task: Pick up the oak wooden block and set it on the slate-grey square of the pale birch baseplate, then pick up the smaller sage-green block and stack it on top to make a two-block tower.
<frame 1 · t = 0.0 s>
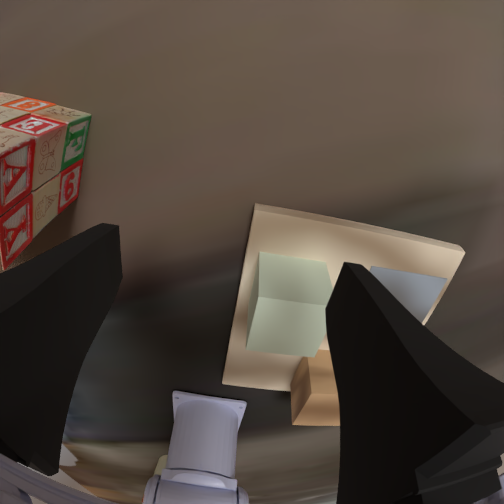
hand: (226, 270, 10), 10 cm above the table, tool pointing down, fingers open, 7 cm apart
sage block: (285, 283, 21), point 1 cm above the table, touching baseplate
oak block: (326, 369, 27), point 1 cm above the table, touching baseplate
baseplate: (333, 322, 25), on the table
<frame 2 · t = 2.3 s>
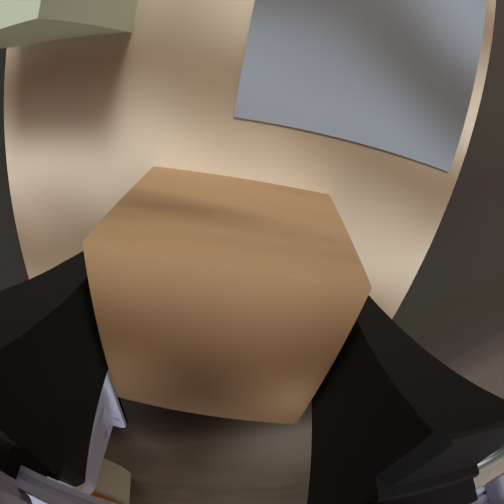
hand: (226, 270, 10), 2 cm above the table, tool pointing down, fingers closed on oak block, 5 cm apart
oak block: (229, 254, 11), point 1 cm above the table, touching baseplate, gripper
reusable coffee cup: (98, 462, 29), on the table
baseplate: (223, 94, 9), on the table
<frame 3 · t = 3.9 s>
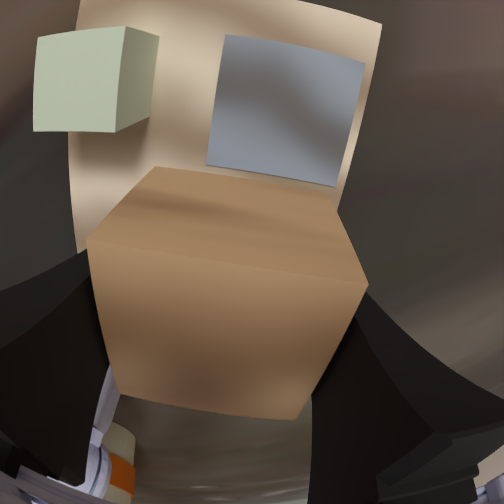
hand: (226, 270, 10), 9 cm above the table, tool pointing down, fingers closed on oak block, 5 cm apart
sage block: (115, 75, 13), point 1 cm above the table, touching baseplate
oak block: (229, 253, 11), point 8 cm above the table, touching gripper
reusable coffee cup: (107, 429, 37), on the table
baseplate: (201, 149, 17), on the table
when the fingers open (3 cm above the table, at t = 5.7 s): oak block drops 1 cm, resting on baseplate.
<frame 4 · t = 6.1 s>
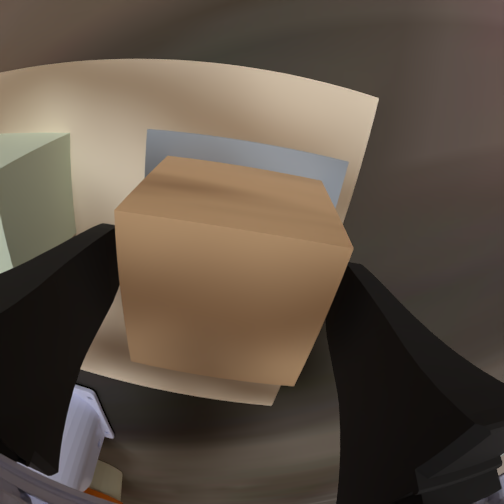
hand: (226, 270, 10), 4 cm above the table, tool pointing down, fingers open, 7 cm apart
sage block: (32, 181, 11), point 1 cm above the table, touching baseplate
oak block: (233, 234, 12), point 1 cm above the table, touching baseplate
reusable coffee cup: (95, 463, 35), on the table
baseplate: (142, 264, 14), on the table
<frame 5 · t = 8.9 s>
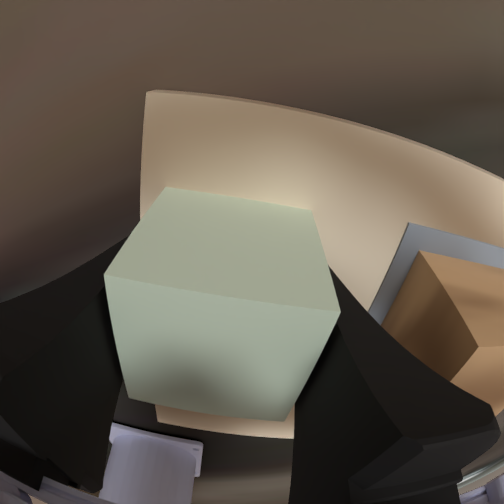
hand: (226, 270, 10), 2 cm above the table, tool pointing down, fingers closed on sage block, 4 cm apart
sage block: (228, 259, 10), point 1 cm above the table, touching baseplate, gripper
oak block: (440, 314, 11), point 1 cm above the table, touching baseplate
baseplate: (330, 337, 14), on the table
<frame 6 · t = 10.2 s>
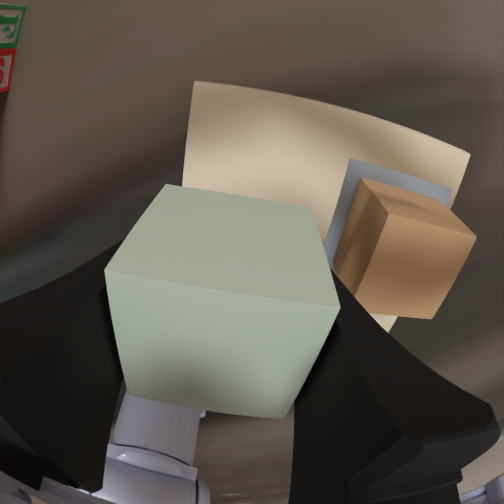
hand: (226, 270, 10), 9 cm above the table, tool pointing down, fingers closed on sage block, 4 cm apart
sage block: (228, 256, 10), point 8 cm above the table, touching gripper
oak block: (387, 229, 18), point 1 cm above the table, touching baseplate
baseplate: (309, 250, 20), on the table
when the fingers open (7 cm above the table, at t = 11.8 s): sage block stays where it is, resting on oak block.
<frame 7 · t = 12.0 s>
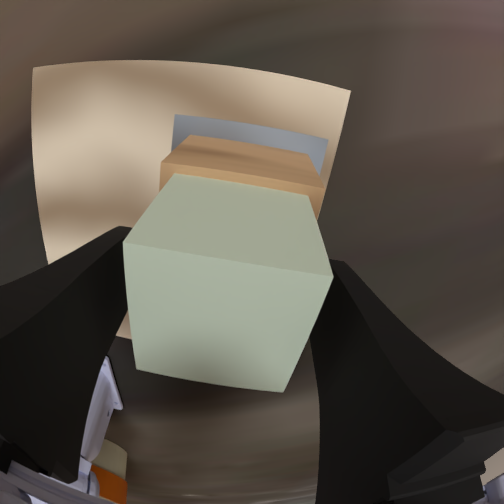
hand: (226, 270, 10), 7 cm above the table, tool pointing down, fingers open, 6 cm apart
sage block: (231, 241, 11), point 6 cm above the table, touching oak block
oak block: (239, 197, 15), point 1 cm above the table, touching baseplate, sage block
reusable coffee cup: (100, 444, 38), on the table
baseplate: (162, 226, 17), on the table
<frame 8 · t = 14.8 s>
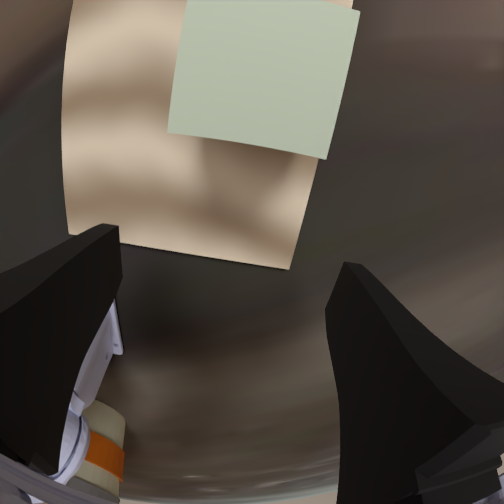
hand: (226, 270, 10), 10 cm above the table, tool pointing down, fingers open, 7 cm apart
sage block: (261, 68, 11), point 6 cm above the table, touching oak block
reusable coffee cup: (97, 411, 37), on the table
baseplate: (184, 112, 17), on the table
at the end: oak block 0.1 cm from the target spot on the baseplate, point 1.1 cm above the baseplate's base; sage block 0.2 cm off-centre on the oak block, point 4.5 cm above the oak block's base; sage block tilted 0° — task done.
